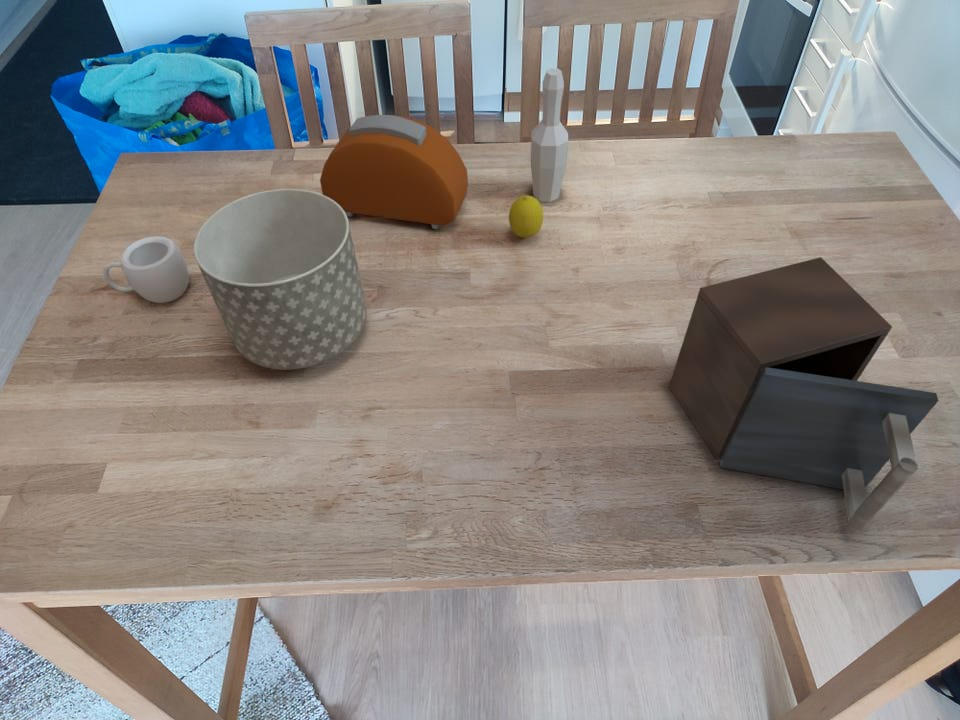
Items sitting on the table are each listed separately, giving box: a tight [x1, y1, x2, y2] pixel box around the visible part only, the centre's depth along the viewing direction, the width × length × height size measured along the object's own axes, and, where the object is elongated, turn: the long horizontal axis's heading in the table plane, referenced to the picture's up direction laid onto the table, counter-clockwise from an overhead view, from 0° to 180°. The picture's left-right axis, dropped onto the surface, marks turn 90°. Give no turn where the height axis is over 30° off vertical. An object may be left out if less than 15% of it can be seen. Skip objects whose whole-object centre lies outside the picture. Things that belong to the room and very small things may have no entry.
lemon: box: [508, 194, 544, 239], centre depth 106 cm, size 6×6×8 cm
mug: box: [102, 235, 190, 304], centre depth 99 cm, size 12×8×8 cm
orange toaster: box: [319, 114, 469, 230], centre depth 108 cm, size 23×9×17 cm, turn 76°
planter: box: [193, 188, 368, 371], centre depth 89 cm, size 19×19×18 cm
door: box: [719, 367, 939, 531], centre depth 69 cm, size 8×16×18 cm, turn 77°
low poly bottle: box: [530, 67, 569, 203], centre depth 108 cm, size 6×6×22 cm
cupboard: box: [668, 257, 893, 460], centre depth 79 cm, size 12×16×18 cm
